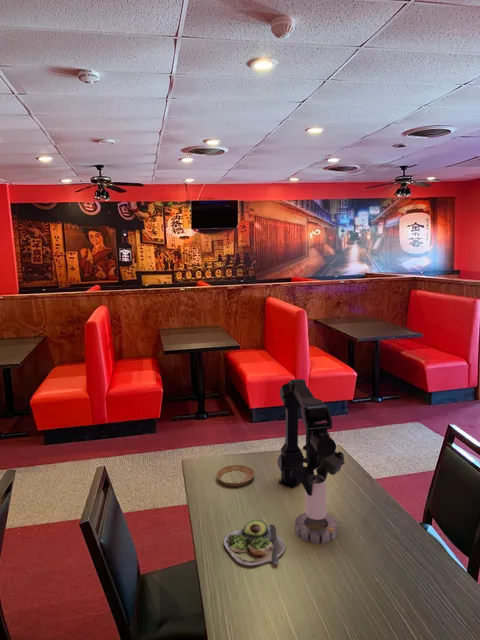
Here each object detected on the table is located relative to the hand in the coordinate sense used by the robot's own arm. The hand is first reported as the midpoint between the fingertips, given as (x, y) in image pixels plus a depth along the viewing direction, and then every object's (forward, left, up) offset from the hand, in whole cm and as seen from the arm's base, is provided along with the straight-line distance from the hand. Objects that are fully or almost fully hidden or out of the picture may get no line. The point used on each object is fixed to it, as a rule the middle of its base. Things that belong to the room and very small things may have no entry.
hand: (315, 490), depth 144 cm
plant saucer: (-42, +8, -14) cm, 45 cm away
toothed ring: (0, 0, -13) cm, 13 cm away
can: (0, 0, -8) cm, 8 cm away
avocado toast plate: (-10, -18, -14) cm, 25 cm away
